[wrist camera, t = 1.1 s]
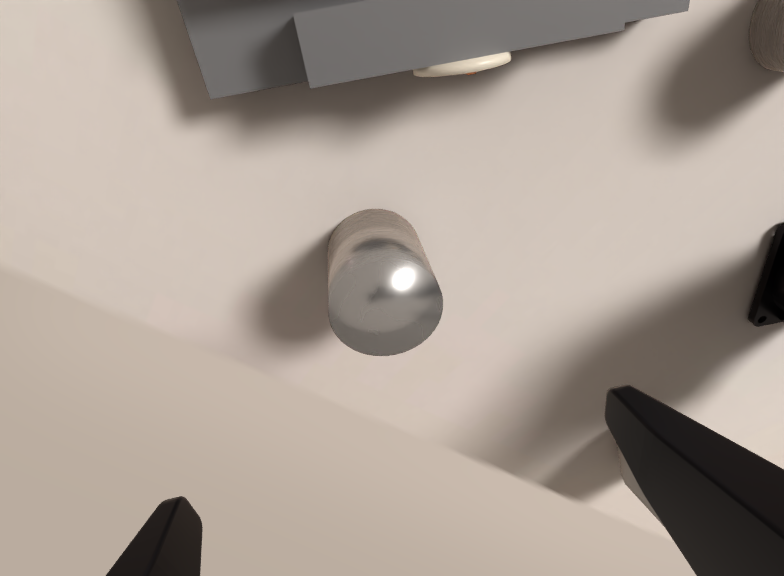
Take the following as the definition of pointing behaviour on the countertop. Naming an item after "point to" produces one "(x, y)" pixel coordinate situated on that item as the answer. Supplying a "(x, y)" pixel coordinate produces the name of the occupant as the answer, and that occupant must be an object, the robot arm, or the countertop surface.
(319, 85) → the scale
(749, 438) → the countertop surface
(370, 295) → the cylinder
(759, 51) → the cylinder
